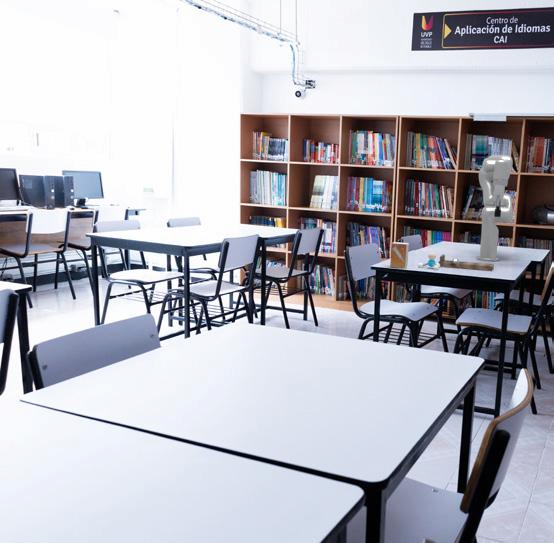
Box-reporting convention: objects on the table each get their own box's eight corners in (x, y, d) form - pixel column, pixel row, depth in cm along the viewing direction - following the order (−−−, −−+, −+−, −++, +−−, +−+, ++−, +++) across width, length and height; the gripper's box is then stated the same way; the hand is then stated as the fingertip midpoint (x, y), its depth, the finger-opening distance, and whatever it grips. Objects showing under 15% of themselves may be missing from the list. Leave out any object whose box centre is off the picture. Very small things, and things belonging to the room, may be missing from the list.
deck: (493, 268, 355) (494, 258, 354) (492, 271, 346) (492, 260, 345) (440, 264, 365) (441, 254, 364) (437, 266, 356) (438, 256, 355)
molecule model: (434, 267, 357) (435, 250, 356) (449, 270, 347) (450, 253, 345) (416, 267, 352) (417, 251, 351) (430, 271, 341) (431, 254, 340)
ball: (450, 267, 360) (451, 260, 362) (458, 268, 358) (459, 261, 360) (450, 264, 356) (451, 256, 358) (458, 264, 355) (459, 257, 356)
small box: (389, 267, 348) (391, 242, 346) (392, 266, 353) (393, 241, 351) (405, 268, 345) (406, 244, 343) (407, 267, 351) (409, 242, 348)
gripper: (494, 182, 367) (491, 215, 370) (491, 183, 354) (489, 217, 357) (508, 183, 365) (505, 216, 368) (506, 183, 351) (503, 218, 354)
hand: (497, 216), depth 362 cm, fingers closed
